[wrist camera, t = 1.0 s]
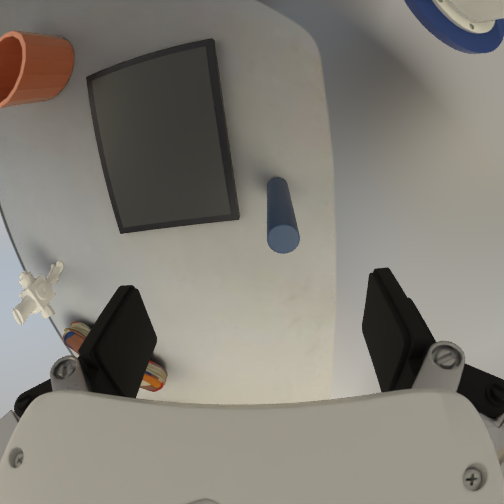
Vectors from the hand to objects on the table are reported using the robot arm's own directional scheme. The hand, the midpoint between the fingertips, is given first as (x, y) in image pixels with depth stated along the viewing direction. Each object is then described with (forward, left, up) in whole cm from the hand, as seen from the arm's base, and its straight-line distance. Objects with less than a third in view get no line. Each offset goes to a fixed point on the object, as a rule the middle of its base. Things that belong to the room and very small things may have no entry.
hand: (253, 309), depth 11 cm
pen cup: (-20, -25, -22) cm, 38 cm away
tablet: (-6, -10, -22) cm, 25 cm away
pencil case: (+26, -28, -22) cm, 44 cm away
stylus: (+1, +2, -22) cm, 22 cm away
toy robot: (+9, -32, -22) cm, 40 cm away
